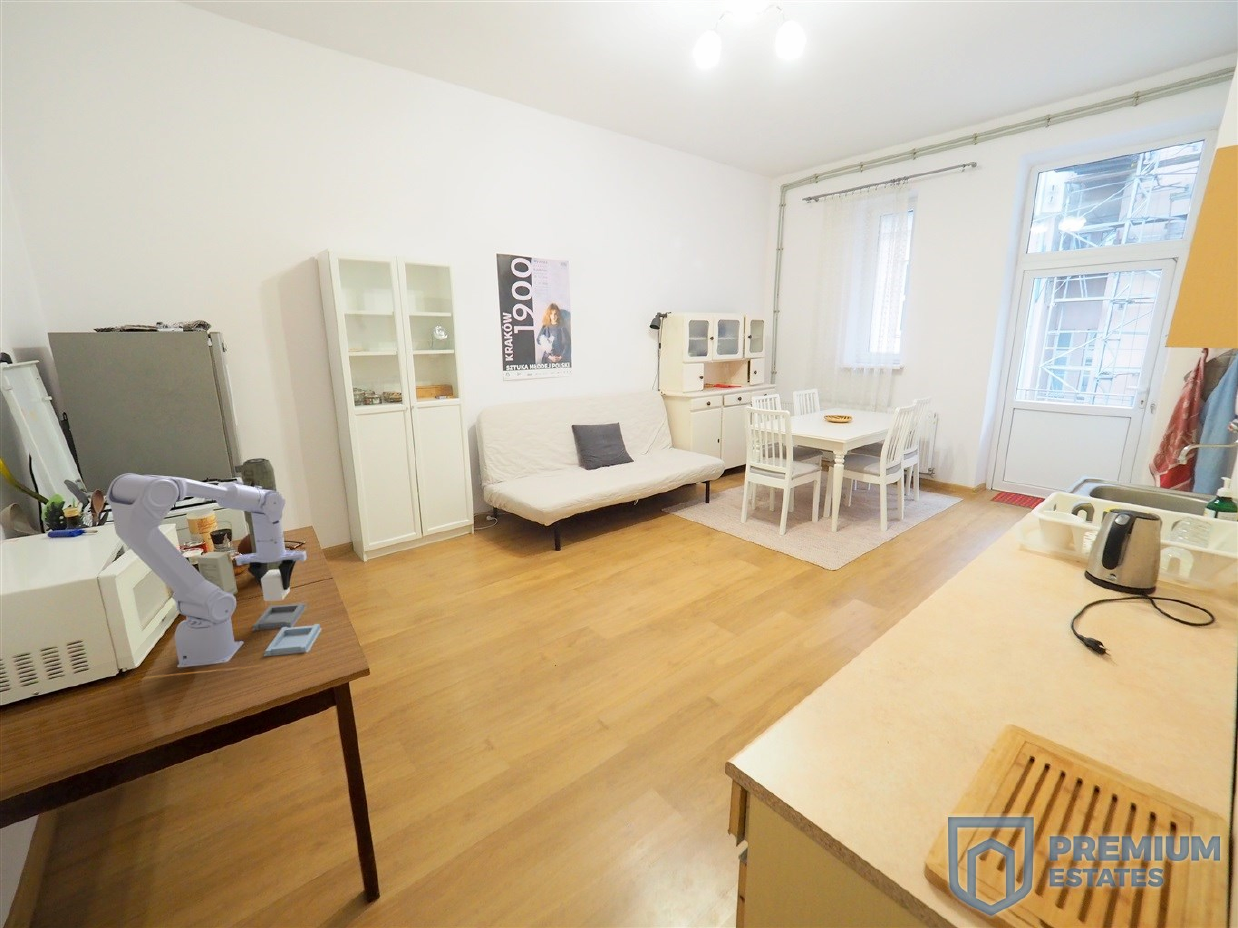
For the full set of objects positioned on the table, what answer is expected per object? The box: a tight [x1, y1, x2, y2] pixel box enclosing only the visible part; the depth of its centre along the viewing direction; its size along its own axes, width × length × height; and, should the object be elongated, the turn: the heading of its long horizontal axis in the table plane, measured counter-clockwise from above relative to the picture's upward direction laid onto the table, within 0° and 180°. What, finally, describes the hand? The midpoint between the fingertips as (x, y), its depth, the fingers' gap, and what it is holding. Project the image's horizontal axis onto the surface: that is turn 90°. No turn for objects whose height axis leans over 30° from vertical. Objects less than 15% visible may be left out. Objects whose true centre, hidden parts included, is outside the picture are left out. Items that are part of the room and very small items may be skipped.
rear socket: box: [251, 602, 308, 632], centre depth 130 cm, size 9×10×2 cm
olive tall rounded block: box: [240, 457, 287, 572], centre depth 150 cm, size 9×12×35 cm
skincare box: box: [196, 551, 238, 595], centre depth 139 cm, size 6×4×12 cm
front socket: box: [263, 623, 323, 657], centre depth 120 cm, size 9×10×2 cm
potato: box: [236, 533, 252, 555], centre depth 166 cm, size 8×12×8 cm, turn 0°
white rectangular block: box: [261, 569, 291, 602], centre depth 128 cm, size 4×5×6 cm
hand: (276, 589), depth 128 cm, fingers closed on white rectangular block, 4 cm apart
